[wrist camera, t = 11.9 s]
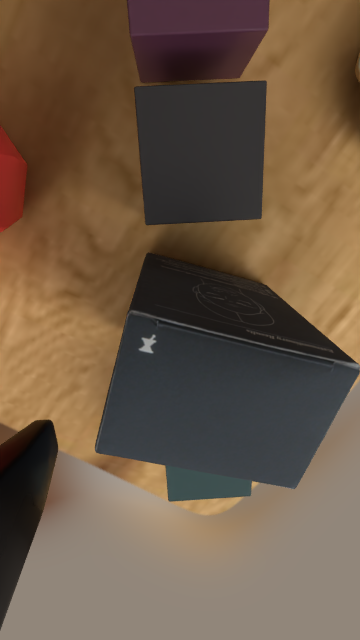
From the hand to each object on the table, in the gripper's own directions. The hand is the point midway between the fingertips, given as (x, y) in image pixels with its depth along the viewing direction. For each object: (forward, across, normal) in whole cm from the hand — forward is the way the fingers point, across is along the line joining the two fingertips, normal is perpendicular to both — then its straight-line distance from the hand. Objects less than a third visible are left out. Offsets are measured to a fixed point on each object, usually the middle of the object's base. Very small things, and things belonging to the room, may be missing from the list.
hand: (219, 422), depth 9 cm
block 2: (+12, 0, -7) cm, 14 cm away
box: (+12, 0, +1) cm, 12 cm away
